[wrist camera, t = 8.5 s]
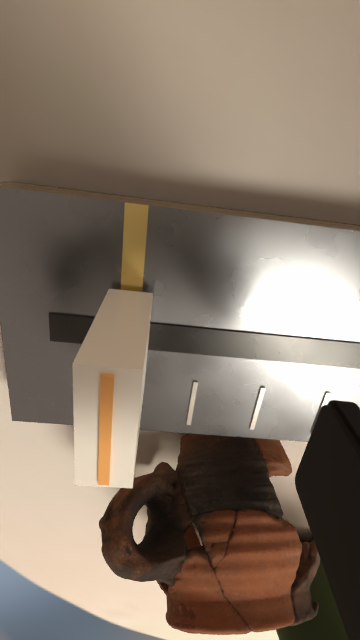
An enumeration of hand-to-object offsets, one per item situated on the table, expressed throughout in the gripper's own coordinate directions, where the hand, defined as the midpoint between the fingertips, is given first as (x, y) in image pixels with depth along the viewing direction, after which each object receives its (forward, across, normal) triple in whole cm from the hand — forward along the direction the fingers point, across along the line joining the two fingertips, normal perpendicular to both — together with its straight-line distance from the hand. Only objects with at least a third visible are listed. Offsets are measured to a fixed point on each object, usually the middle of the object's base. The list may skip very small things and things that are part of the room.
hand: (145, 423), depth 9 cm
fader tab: (+4, +1, 0) cm, 5 cm away
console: (+7, -5, 0) cm, 9 cm away
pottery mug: (+7, -4, +10) cm, 13 cm away
